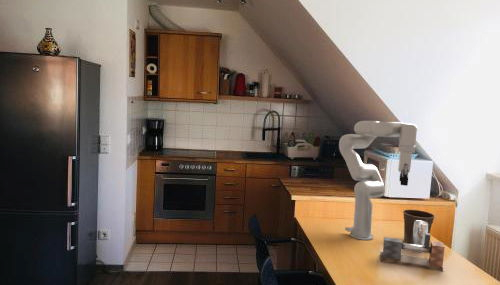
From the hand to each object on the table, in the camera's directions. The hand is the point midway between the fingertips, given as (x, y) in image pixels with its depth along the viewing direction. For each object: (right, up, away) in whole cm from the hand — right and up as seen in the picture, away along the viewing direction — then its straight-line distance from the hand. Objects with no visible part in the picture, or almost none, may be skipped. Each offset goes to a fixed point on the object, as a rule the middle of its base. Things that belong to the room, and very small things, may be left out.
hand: (403, 183), depth 200 cm
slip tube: (+3, -31, -9) cm, 32 cm away
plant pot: (+16, -35, +23) cm, 45 cm away
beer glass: (+12, -36, +10) cm, 39 cm away
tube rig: (0, -37, -7) cm, 38 cm away
